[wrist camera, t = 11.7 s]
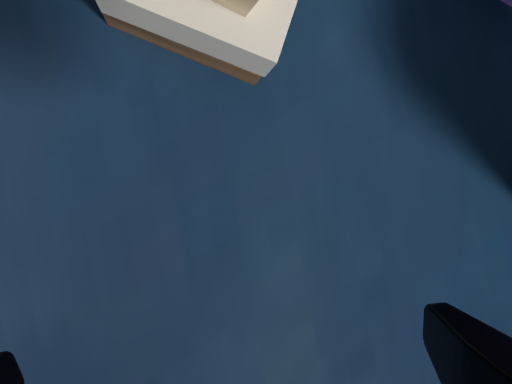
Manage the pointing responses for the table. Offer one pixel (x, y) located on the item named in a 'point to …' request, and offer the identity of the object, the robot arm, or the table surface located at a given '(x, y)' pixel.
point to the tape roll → (507, 2)
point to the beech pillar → (238, 5)
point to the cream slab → (213, 27)
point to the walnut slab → (184, 50)
